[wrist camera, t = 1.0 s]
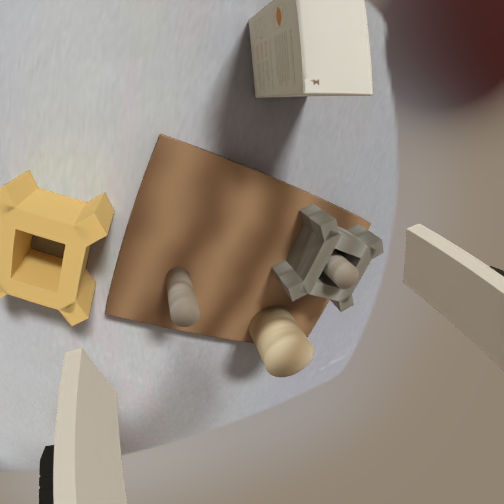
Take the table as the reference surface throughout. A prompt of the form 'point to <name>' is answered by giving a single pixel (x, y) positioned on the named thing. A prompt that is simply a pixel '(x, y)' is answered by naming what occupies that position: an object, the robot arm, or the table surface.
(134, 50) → the table surface
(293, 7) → the small box
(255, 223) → the board
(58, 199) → the tan notched block
